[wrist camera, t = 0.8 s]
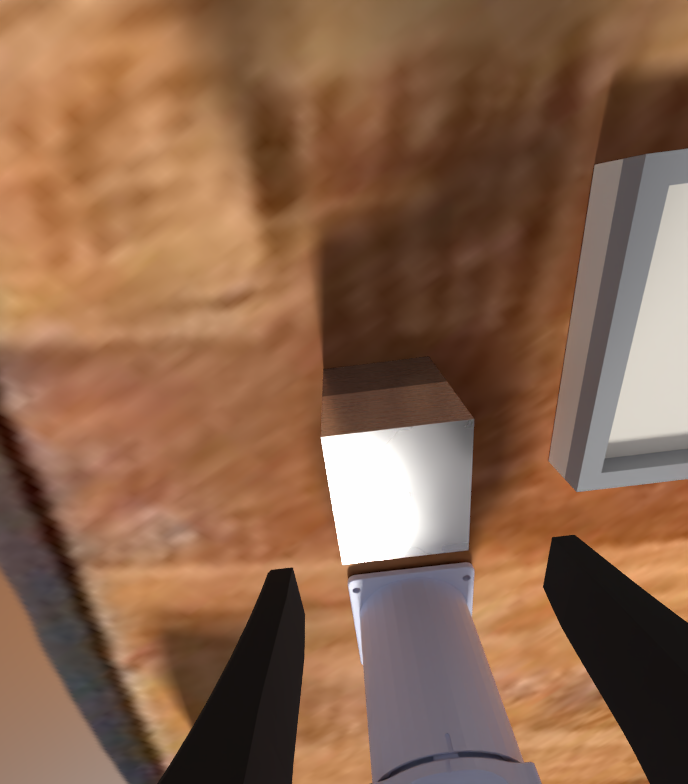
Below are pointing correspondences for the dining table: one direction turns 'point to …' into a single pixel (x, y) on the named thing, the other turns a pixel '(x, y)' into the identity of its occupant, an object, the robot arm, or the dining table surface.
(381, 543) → the block
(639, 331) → the shallow gray rimmed tray
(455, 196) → the dining table surface
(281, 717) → the robot arm
